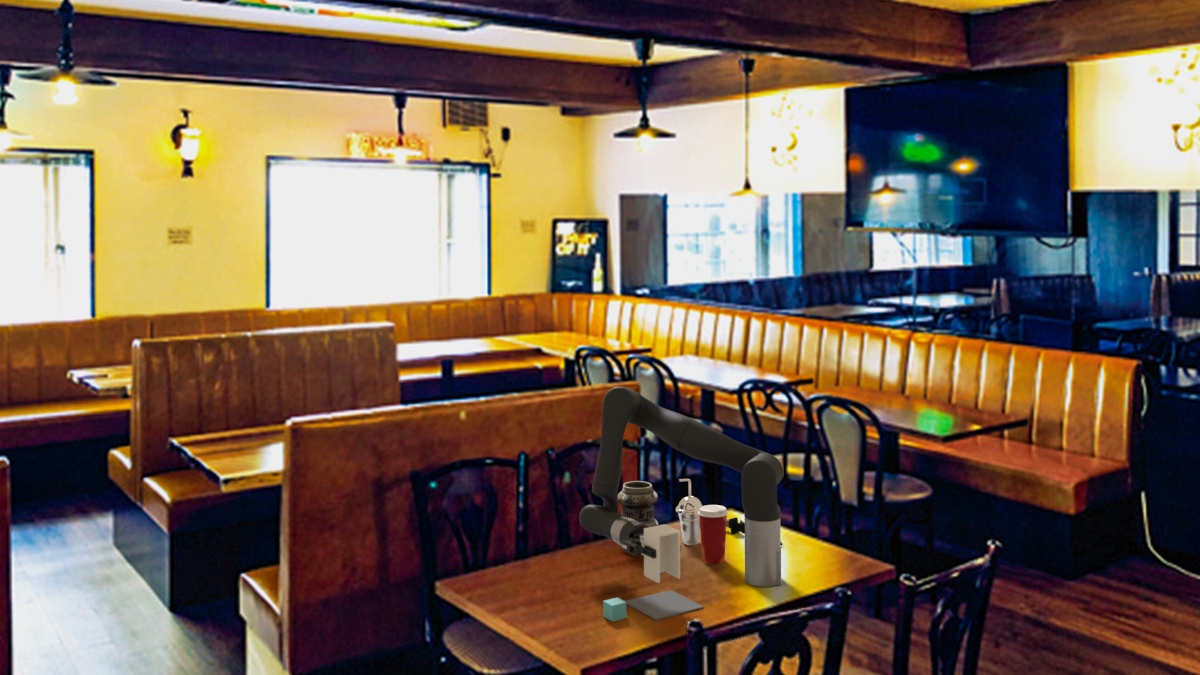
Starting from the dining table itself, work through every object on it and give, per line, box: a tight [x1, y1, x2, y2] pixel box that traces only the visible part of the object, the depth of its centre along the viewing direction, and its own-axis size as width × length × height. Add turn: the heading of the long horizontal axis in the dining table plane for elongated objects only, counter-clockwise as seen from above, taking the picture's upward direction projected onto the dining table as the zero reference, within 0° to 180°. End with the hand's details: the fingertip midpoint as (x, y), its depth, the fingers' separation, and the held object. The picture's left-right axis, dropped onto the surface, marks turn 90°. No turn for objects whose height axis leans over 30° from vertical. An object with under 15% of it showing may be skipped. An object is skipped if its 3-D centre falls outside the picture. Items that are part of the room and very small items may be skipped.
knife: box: [726, 516, 784, 546], centre depth 321 cm, size 31×3×4 cm, turn 37°
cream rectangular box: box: [643, 524, 681, 584], centre depth 265 cm, size 6×6×12 cm
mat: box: [624, 589, 704, 621], centre depth 266 cm, size 14×14×1 cm
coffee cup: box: [698, 504, 729, 565], centre depth 298 cm, size 8×8×15 cm
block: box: [602, 597, 627, 622], centre depth 259 cm, size 4×4×4 cm
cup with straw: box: [675, 478, 703, 546], centre depth 314 cm, size 8×9×20 cm
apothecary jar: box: [618, 480, 659, 527], centre depth 314 cm, size 12×12×18 cm
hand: (667, 551), depth 263 cm, fingers closed on cream rectangular box, 6 cm apart
